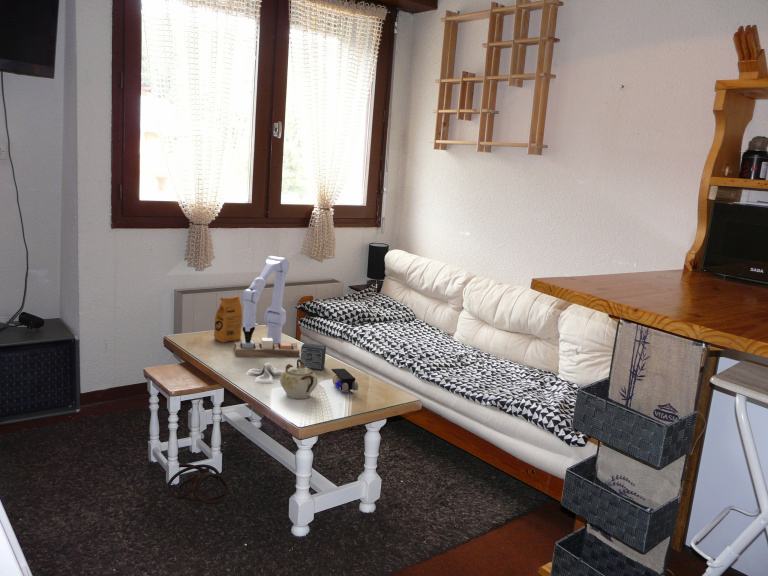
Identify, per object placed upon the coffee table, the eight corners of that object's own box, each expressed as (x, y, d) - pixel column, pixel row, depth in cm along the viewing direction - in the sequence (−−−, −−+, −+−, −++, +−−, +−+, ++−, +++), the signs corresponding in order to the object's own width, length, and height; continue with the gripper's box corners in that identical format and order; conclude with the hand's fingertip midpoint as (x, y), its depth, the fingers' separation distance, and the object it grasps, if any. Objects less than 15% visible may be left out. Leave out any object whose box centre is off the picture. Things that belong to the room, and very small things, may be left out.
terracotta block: (279, 350, 318) (280, 342, 317) (289, 350, 319) (290, 342, 318) (280, 353, 313) (281, 345, 312) (291, 353, 314) (291, 345, 314)
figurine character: (358, 398, 269) (342, 382, 281) (360, 381, 266) (345, 366, 279) (343, 400, 265) (328, 383, 278) (345, 383, 263) (330, 367, 276)
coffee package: (211, 338, 328) (213, 295, 323) (231, 335, 337) (234, 293, 333) (222, 343, 321) (224, 300, 317) (243, 340, 330) (245, 297, 326)
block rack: (234, 348, 315) (234, 342, 315) (296, 349, 323) (296, 343, 323) (235, 355, 304) (235, 349, 303) (299, 356, 312) (299, 350, 311)
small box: (325, 366, 301) (326, 345, 299) (322, 371, 294) (324, 348, 292) (302, 364, 301) (304, 342, 299) (299, 368, 295) (300, 346, 293)
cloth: (261, 387, 268) (262, 373, 267) (236, 374, 281) (236, 360, 279) (303, 378, 284) (304, 364, 283) (278, 366, 296) (278, 353, 295)
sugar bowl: (269, 389, 265) (271, 354, 262) (300, 384, 274) (303, 350, 271) (294, 406, 250) (297, 369, 247) (326, 400, 259) (329, 364, 256)
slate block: (242, 348, 313) (242, 340, 312) (252, 348, 314) (253, 340, 313) (242, 351, 308) (242, 343, 307) (253, 351, 309) (253, 343, 309)
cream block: (261, 345, 315) (261, 337, 314) (271, 345, 316) (272, 338, 315) (261, 348, 310) (262, 340, 309) (272, 349, 311) (273, 340, 311)
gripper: (257, 318, 301) (255, 347, 304) (259, 311, 315) (257, 338, 318) (241, 317, 300) (239, 346, 303) (244, 310, 314) (242, 337, 317)
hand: (248, 342), depth 310 cm, fingers closed, pressing on slate block
